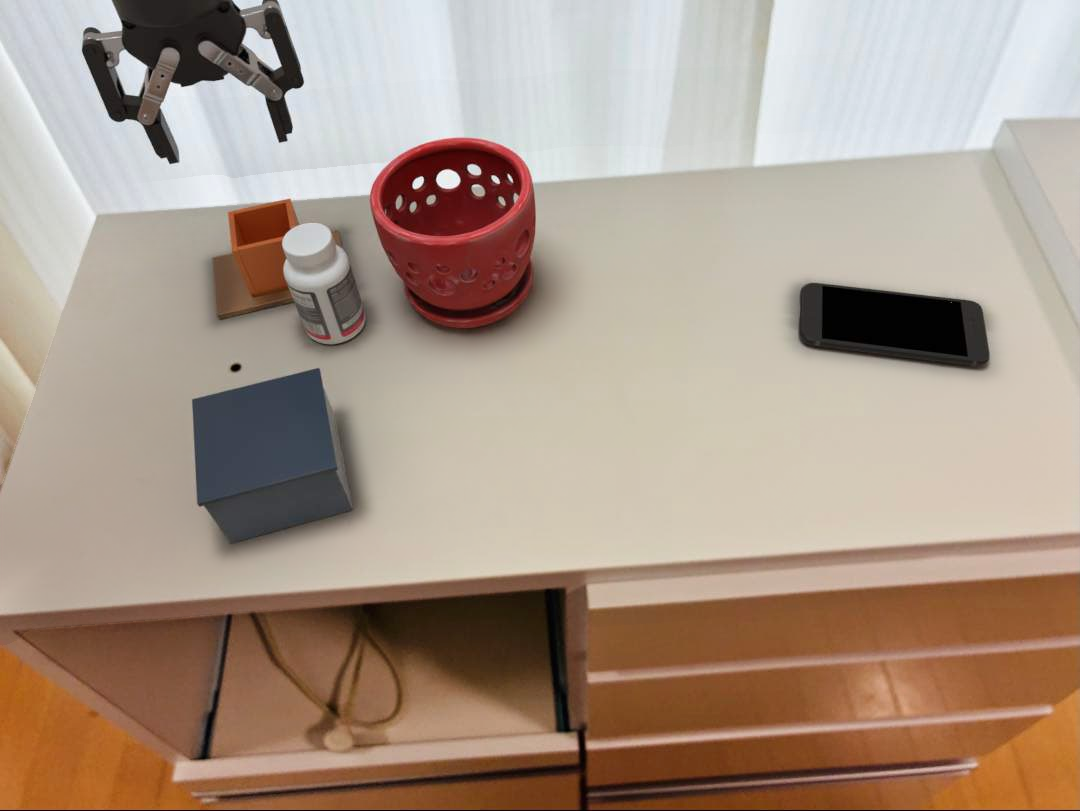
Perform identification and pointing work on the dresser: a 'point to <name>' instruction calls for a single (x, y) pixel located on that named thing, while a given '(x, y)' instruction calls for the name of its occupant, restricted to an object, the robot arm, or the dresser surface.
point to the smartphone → (893, 324)
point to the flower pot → (458, 230)
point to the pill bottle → (322, 284)
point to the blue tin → (269, 456)
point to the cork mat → (243, 288)
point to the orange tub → (262, 244)
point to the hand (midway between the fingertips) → (229, 147)
